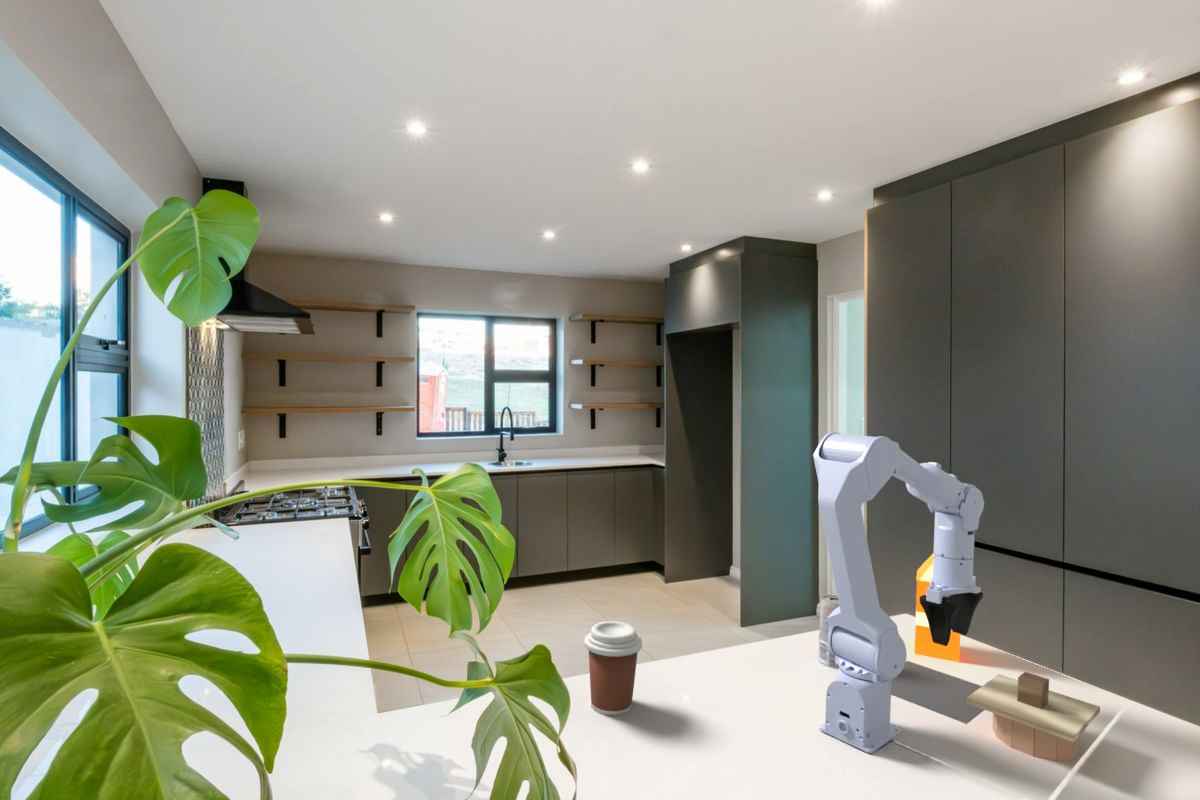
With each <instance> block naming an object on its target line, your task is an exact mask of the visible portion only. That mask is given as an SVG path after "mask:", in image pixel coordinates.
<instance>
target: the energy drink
mask: <svg viewBox="0 0 1200 800" xmlns="http://www.w3.org/2000/svg"><path fill="white" fill-rule="evenodd" d="M837 607H839V602H838V597H837V595H832V594H830V595H828V594H827V595H824V596H822V597H821V600H820V612H819V613H820V614H819V637H818V638H819V639H818V640H819V641H818V662H819V663H820V664H821V665H823V666H825V667H828V668H831V669H836V670H837V669H838V670H839V665H838V664H836V663H835V655H833V654H832V653H831V651H830V650H829V647H828V632H829V623H828V616H829V615H830V614H831V613H832V611H834V610H835V609H836V608H837Z"/></svg>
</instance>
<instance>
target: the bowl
mask: <svg viewBox="0 0 1200 800" xmlns="http://www.w3.org/2000/svg"><path fill="white" fill-rule="evenodd" d="M992 732H993V733H994V735H995V737H996V738H997V739H998V740H999V741H1001V742H1003V743H1004V745H1006V746H1008V747H1009V748H1011V749H1014V750H1016V751H1018V752H1021V753H1023V754H1026V755H1028V756H1031V757H1034V758H1039V759H1044V760H1049V761H1054V762H1061V761H1073V760H1075V758H1076V757H1077V756H1078V755H1079V753H1080V736H1081V735H1080V736H1079V737H1078V738H1077V739H1076V740H1075V741H1074V742H1072V741H1069V740H1066V739H1064V738H1061V737H1058V736H1055V735H1053V734H1050V733H1047V732H1044V731H1042V730H1039V729H1036V728H1033V727H1031V726H1028V725H1025V724H1022V723H1020V722H1017V721H1014V720H1012V719H1009V718H1006V717H1003V716H1001V715H998V714H995V713H992Z"/></svg>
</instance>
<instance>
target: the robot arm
mask: <svg viewBox="0 0 1200 800" xmlns="http://www.w3.org/2000/svg"><path fill="white" fill-rule="evenodd" d="M812 456H813V461H814V466H815V471H816V475H817V477H816V478H817V482H818V493H817V494H818V495H817V499H818V507H819V512H820V517H821V520H822V526H823V530H824V531H823V532H824V536H825V537H824V538H825V541H826V545H827V552H828V556H829V561H830V564H831V565H830V567H831V570H832V577H833V581H834V585H835V586H834V587H835V591H836V596H837V597H838V602H839V607H837V608H836V609H835V610H834V611H832V613H831V614H830V615H829V616H828V623H829V632H828V647H829V650H830V651H831V653H832V654H833V655H835V663H836V664H838V665H839V669H838V672H837V675H836V677H835V678H834V680H833V681H831V682H830V683H829V684H828V687H827V689H826V695H825V697H826V698H825V719H824V720H825V721H824V723H822V724H820V725H819V730H820V731H821V732H824V733H826V734H828V735H829V736H832V737H834V738H836V739H839V740H840V741H842V742H844V743H846V744H850V745H851V746H853V747H854V748H858V749H860V750H862V751H863V752H866V753H868V754H872V753H873V752H876V751H877V750H879V748H881V747H882V746H884V745H885V744H887V743H888V742H890V741H891V740H893V738H894V737H896V736H898V735H900V733H901V732H902V729H901V727H898V726H896V725H893V724H892V723H891V708H892V707H891V706H892V705H891V704H892V695H891V682H892V679H893V678H896V676H897V675H898V674H900V672H901V671H902V670H903V668H904V666H905V663H906V661H907V646H906V644H905V641H904V640H903V638H902V637H901V635H900V634H899V630H898V624H897V623H896V622H895V621H894V620H893V619H892V618H891V617H890V616H889V615H888V614H887V613H886V612H885V611H884V609H882V608H881V605H880V602H879V597H878V596H879V595H878V591H877V585H876V582H875V579H876V578H875V574H874V570H873V564H872V559H871V558H872V557H871V553H870V549H869V545H868V544H869V543H868V538H867V533H866V527H865V522H864V518H863V517H864V516H863V512H862V506H863V504H864V503H866V502H869V501H872V500H873V499H874V498H875V497H876V495H877V494H878V493H879V491H880V490H881V489H882V488H883V487H884V486H885V485H886V484H887V482H888V481H889V480H890V479H891V477H893V478H896V479H898V480H900V481H903V482H904V483H905V487H906V489H907V492H909V494H911V495H912V496H913V497H915V498H917V499H918V500H920V501H922V502H923V503H926V505H927V508H928V509H929V511H930V512H931V514H933V513H934V532H933V533H934V534H933V535H934V536H933V553H934V555H933V578H932V579H931V583H930V587H929V588H927V592H926V595H922V596H920V598H919V602H920V604H921V606H922V608H923V610H924V612H925V614H926V617H927V620H928V623H929V627H930V632H931V637H932V641H933V643H937V644H940V645H943V646H947V645H948V643H949V640H950V636H951V630H952V632H955V633H959V634H960V635H963V636H967V635H968V632H969V629H970V626H971V623H972V620H973V616H974V614H975V611H976V609H977V607H978V605H979V603H980V602H981V601H982V599H983V597H984V593H983V592H982V591H981V589H982V588H981V586H976V585H977V583H976V581H977V576H974V557H975V553H974V551H975V533H976V532H975V531H977V530H978V528H979V526H980V517H981V516H982V513H983V511H984V507H985V500H984V496H983V493H982V492H981V490H980V489H979V488H978V487H977V486H976V485H974V484H972V483H971V484H970V483H965V482H961V481H960V480H959V479H958V477H957V475H954V474H952V473H947V472H946V471H944V470H943V469H942V464H940V463H939V462H933V461H929V462H922V463H919V462H917V461H916V460H915V459H913V458H912V457H911V456H910V455H908V454H907V453H906V452H905V451H904V450H902V449H901V447H900V443H898V442H897V441H893V440H892V439H890V438H889V437H887V436H883V435H879V436H871V435H860V434H858V435H857V434H850V433H849V434H847V433H840V432H836V431H831V432H828V433H826V434H825V435H824V436H823V437H822V438H821V439H820V442H819V443H818V445H817V447H816V449H815V450H814V452H813V454H812ZM947 600H948V601H947Z"/></svg>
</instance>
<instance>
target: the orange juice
mask: <svg viewBox="0 0 1200 800" xmlns="http://www.w3.org/2000/svg"><path fill="white" fill-rule="evenodd" d="M933 555H934V552H933V553H932V554H931V555H930V556H929V557H928V558H927V559H926V560H925V561H924V562H923V563H922V565H921V566H919V568H918V569H917V570H916V599H915V601H916V602H915V605H916V606H915V631H914V632H915V634H914V635H915V636H914V655H919V656H924V657H928V658H930V657H931V658H935V659H938V660H939V659H940V660H945V661H951V662H954V663H955V662H956V663H960V654H961V653H960V650H961V648H960V647H961V634H959V633H955V632H952V630H951V636H950V640H949V643H948V645H947V646H943V645H940V644H937V643H933V641H932V637H931V632H930V627H929V623H928V620H927V617H926V614H925V612H924V610H923V608H922V606H921V604H920V602H919V598H920V596H922V595H926V592H927V588H929V587H930V583H931V579H932V578H933ZM947 601H948V600H947Z"/></svg>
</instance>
